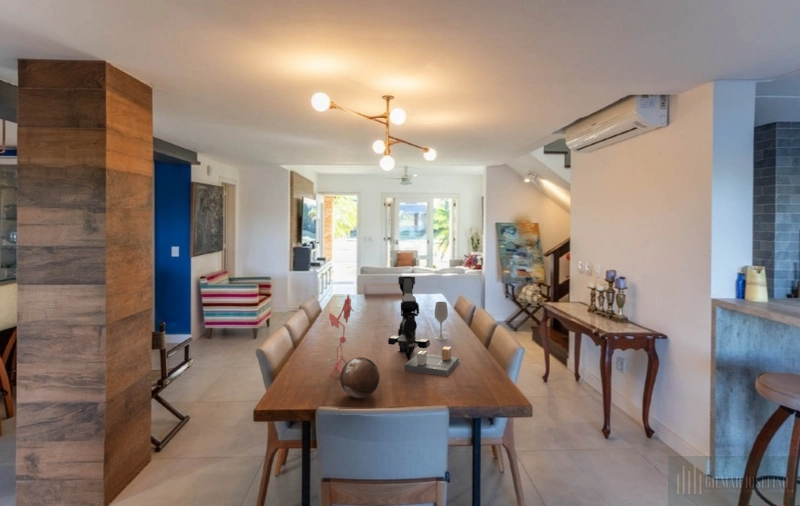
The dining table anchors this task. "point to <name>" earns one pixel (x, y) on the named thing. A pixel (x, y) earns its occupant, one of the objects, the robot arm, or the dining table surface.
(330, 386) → the dining table surface
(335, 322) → the figurine
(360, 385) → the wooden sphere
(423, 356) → the white fader
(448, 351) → the orange fader
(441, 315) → the wineglass
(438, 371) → the console board
